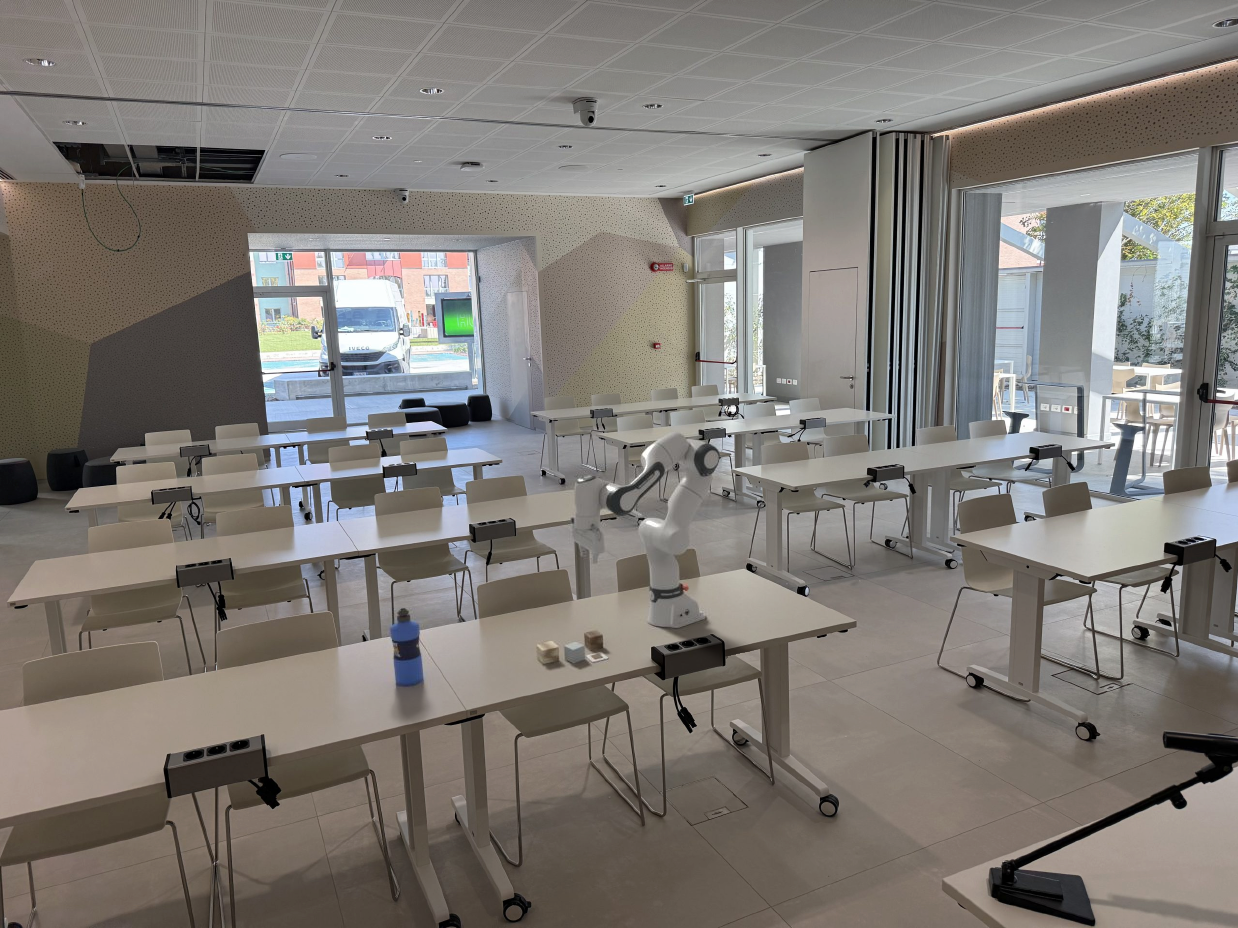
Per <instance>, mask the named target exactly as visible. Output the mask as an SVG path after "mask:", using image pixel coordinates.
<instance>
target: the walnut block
mask: <svg viewBox="0 0 1238 928" xmlns="http://www.w3.org/2000/svg"><path fill="white" fill-rule="evenodd" d="M583 634H584V635H583V636H584V638H583V639H584V640H583V641H584V647H585V648H587V649H588V650H589V651H591V652H592V651H595V650H599V649H603V648H604V636H603V633H601V632H600V631H599V630H598V629H595V630H591V631H586V632H583Z"/></svg>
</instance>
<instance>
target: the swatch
mask: <svg viewBox="0 0 1238 928" xmlns="http://www.w3.org/2000/svg"><path fill="white" fill-rule="evenodd" d="M585 658H586V659H587V660H588V661H590V662H591V663H592V664H593V663H597V662H600V661H606V660H609V657H608V656H607V655H605V653H603V652H602V651H598V652H594V653H591V654H585Z"/></svg>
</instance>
